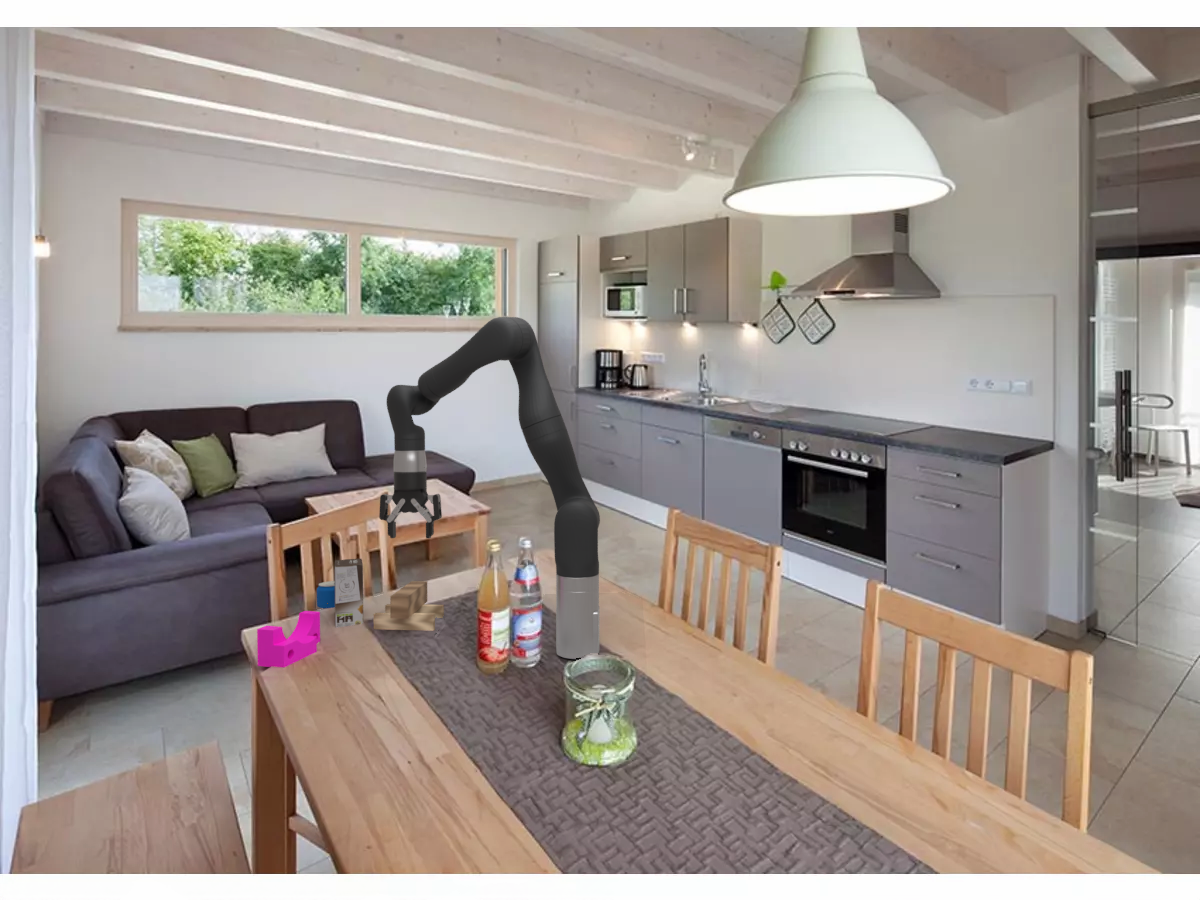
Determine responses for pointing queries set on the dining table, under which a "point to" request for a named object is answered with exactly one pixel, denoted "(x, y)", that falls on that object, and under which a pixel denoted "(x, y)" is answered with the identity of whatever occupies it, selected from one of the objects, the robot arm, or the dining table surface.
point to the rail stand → (410, 619)
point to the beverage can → (326, 595)
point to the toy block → (288, 641)
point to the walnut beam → (408, 599)
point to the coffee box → (348, 592)
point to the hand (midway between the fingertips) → (411, 537)
